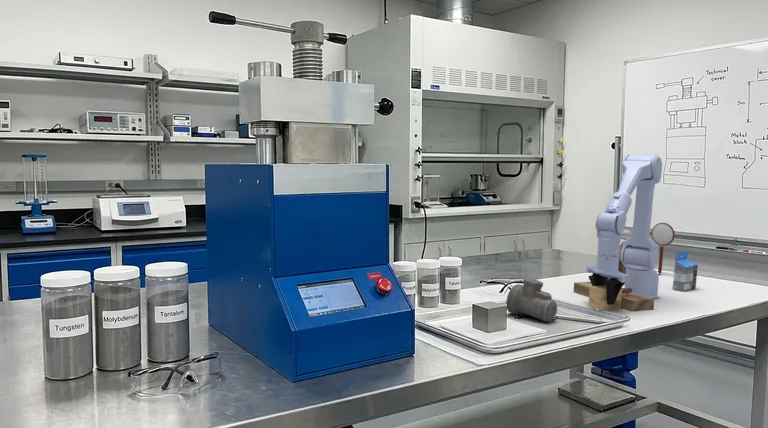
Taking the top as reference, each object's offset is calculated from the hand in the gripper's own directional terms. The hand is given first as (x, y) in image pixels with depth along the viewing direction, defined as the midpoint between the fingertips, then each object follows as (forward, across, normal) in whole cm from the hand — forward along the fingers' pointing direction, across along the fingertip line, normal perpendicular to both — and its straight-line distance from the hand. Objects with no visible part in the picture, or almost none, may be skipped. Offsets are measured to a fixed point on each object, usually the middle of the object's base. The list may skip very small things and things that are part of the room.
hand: (604, 302), depth 159 cm
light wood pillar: (+2, 0, +2) cm, 3 cm away
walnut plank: (+2, -7, +9) cm, 11 cm away
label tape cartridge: (+2, -13, +46) cm, 48 cm away
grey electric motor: (+2, +3, -27) cm, 27 cm away
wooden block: (+2, -29, +31) cm, 42 cm away
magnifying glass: (+2, -34, +58) cm, 67 cm away
